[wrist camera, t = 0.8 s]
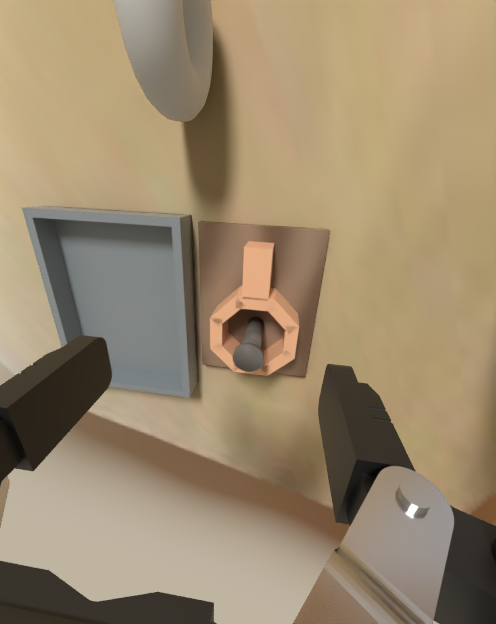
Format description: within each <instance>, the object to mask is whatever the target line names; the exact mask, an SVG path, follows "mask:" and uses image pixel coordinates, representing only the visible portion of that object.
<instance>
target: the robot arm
mask: <svg viewBox="0 0 496 624" xmlns="http://www.w3.org/2000/svg"><path fill="white" fill-rule="evenodd" d="M111 379H112V369H111V364H110V359H109V353H108V348H107V343H106V341H105V339H104V338H102V337H94V336H85V335H80V336H78V337H76V338H75V339H73V340H72V341H70V342H69V343H67V344H66V345H65V346H63V347H62V348H60V349H58V350H55V351H53V352H51V353H48V354H46V355H45V356H43V357H42V358H40V359H39V360H37V361H36V362H34V363H33V365H32V366H31V365H30V366H29V367H27V368H26V369H24V370H23V371H21V374H17V375H15V376H14V377H12V378H11V379H9V380H8V381H6V382H5V383H4V384H2V385H1V386H0V526H1V522H2V517H3V512H4V508H5V502H6V498H7V493H8V489H9V479H8V477H7V475H8V474H9V473H10V472H11V471H12V470H13V469H14V468H16V469H23V470H29V471H34V470H35V469H36V468H37V466H38V465H39V464H40V463H41V462H42V461H43V460H44V459H45V457H46V456H47V455H48V454H49V453H50V452H51V451H52V450H53V449H54V448H55V447H56V445H57V444H58V443H59V442H60V441H61V440H62V439H63V437H64V436H65V435H66V434H67V433H68V432H69V431H70V429H72V427H73V426H74V425H75V424H76V423H77V422H78V421H79V420H80V419H81V418H82V416H83V415H84V414H85V413H86V412H87V411H88V410H89V409H90V408H91V406H92V405H93V404H94V403H95V402H96V401H97V400H98V399H99V398H100V396H101V395H102V394H103V393H104V392H105V391H106V390H107V388H108V387H109V385H110V383H111ZM318 415H319V422H320V428H321V435H322V441H323V447H324V453H325V459H326V465H327V472H328V478H329V484H330V490H331V496H332V503H333V509H334V515H335V520H336V522H338V523H344V524H349V526H350V528H349V530H348V531H347V533H346V535H345V537H344V539H343V541H342V542H341V544H340V546H339V547H338V549H335V551H334V552H333V553H332V555H331V556H330V558H329V560H328V561H327V563H326V565H325V567H324V568H323V570H322V572H321V574H320V576H319V578H318V579H317V581H316V583H315V585H314V587H313V589H312V590H311V592H310V594H309V596H308V597H307V599H306V601H305V603H304V605H303V606H302V608H301V610H300V612H299V614H298V616H297V617H296V619H295V621H294V623H293V624H433V620H434V621H436V622H438V623H439V624H496V526H494V525H492V524H489V523H487V522H485V521H483V520H480V519H478V518H476V517H473V516H471V515H469V514H466V513H464V512H462V511H460V510H458V509H456V508H454V507H452V506H450V505H449V503H448V501H447V500H446V498H445V497H444V495H443V494H442V493H441V491H440V490H439V489H438V488H437V487H436V486H435V485H434V484H433V483H432V482H430V481H429V480H428V479H427V478H425V477H424V476H422V475H421V474H419V473H417V472H416V471H415V469H414V467H413V465H412V463H411V461H410V459H409V457H408V455H407V453H406V451H405V449H404V446H403V444H402V442H401V440H400V438H399V436H398V434H397V432H396V430H395V428H394V426H393V424H392V423H391V419H390V417H389V415H388V413H387V411H385V407H384V405H383V403H382V401H381V398H380V396H379V395H378V394H377V393H376V392H375V391H374V390H373V389H372V388H371V387H370V386H369V385H368V384H366V383H358V381H357V379H356V376H355V374H354V371H353V369H352V367H351V366H342V365H334V364H328V365H327V367H326V370H325V375H324V379H323V384H322V389H321V393H320V398H319V406H318ZM0 624H216V623H215V622H214V603H212V602H207V601H202V600H197V599H192V598H186V597H181V596H176V595H171V594H166V593H161V592H155V593H148V594H143V595H137V596H130V597H124V598H118V599H112V600H106V601H99V602H94V601H90V600H89V599H87V598H86V597H84V596H83V595H82V594H80V593H79V592H77V591H76V590H75V589H73V588H72V587H71V586H69V585H68V584H67V583H65V582H64V581H63V580H61V579H60V578H59V577H57V576H56V575H54V574H53V573H52V572H50V571H49V570H44V569H39V568H33V567H28V566H23V565H18V564H13V563H8V562H3V561H0Z"/></svg>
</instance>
